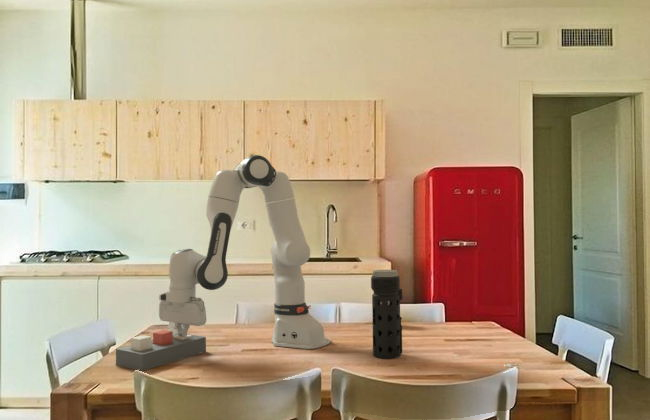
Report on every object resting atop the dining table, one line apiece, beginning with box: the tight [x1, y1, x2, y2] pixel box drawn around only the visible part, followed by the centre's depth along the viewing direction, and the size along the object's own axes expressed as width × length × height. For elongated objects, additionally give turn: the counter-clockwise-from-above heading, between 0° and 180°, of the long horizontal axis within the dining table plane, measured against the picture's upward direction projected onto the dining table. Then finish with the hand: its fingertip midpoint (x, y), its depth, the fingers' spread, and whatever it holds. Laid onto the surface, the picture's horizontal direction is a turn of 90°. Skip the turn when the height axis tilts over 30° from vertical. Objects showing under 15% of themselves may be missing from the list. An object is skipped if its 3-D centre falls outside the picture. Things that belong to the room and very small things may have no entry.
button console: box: [115, 333, 207, 372], centre depth 164 cm, size 13×26×5 cm, turn 148°
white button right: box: [173, 334, 193, 340], centre depth 172 cm, size 4×4×5 cm
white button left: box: [130, 334, 152, 351], centre depth 157 cm, size 4×4×5 cm
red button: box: [152, 329, 173, 345], centre depth 164 cm, size 4×4×5 cm
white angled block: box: [168, 322, 183, 335], centre depth 196 cm, size 4×10×9 cm
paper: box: [453, 354, 521, 369], centre depth 154 cm, size 25×17×1 cm
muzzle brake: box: [370, 269, 403, 360], centre depth 165 cm, size 10×28×10 cm
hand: (182, 336), depth 172 cm, fingers closed, pressing on white button right
